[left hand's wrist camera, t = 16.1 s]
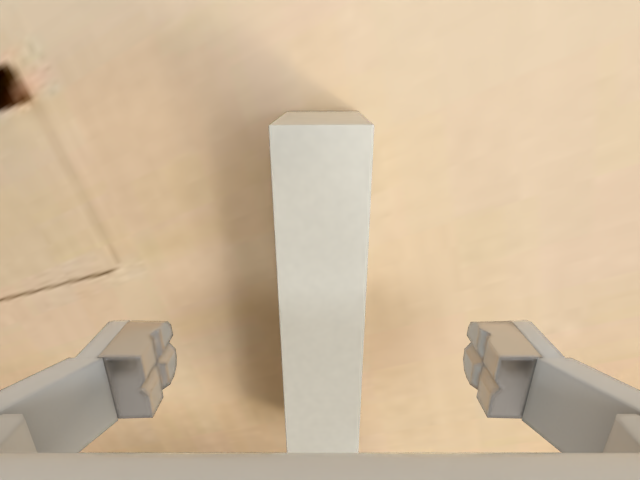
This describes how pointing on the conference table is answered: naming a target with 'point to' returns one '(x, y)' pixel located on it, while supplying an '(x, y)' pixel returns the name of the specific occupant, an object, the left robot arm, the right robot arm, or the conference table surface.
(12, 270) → the conference table surface
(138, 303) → the conference table surface
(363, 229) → the bar
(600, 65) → the conference table surface
